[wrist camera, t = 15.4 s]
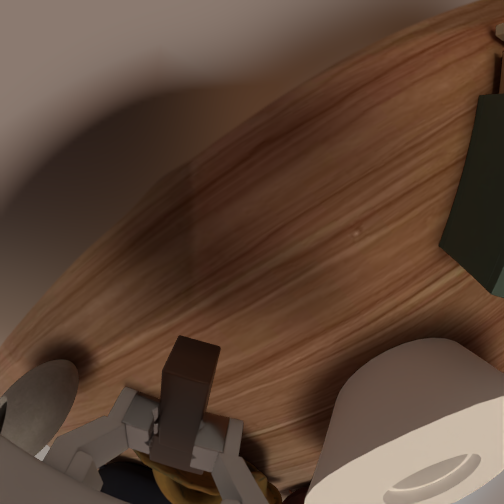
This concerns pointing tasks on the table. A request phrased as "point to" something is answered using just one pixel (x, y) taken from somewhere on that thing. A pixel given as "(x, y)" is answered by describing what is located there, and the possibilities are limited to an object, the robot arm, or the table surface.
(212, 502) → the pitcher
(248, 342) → the table surface
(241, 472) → the robot arm
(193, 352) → the dark brown stepped post
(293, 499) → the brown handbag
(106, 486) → the teapot
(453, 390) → the bowl
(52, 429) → the planter
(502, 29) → the drawer
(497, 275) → the cabinet
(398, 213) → the table surface
